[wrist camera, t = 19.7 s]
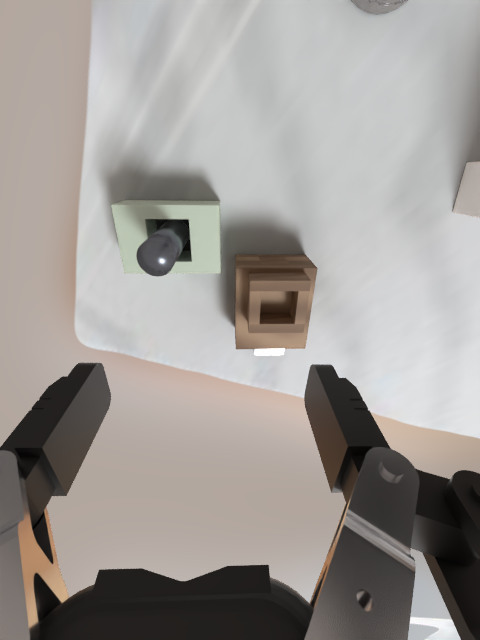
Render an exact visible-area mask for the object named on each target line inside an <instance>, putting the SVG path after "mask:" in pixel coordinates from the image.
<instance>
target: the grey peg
mask: <svg viewBox="0 0 480 640" xmlns="http://www.w3.org/2000/svg"><path fill="white" fill-rule="evenodd" d="M188 238H189V230H188V227H187V226H186V224H185V223H184V222H182V221H180V220H178V219H171V220H169V221H167V222H166V223H165V224H163V225H162V226H161V227H160V228H159V229H158V230H157V231H156V232H154V233H153V234H152V235H151V236H150V237H149V238H148V239H147V240H145V241H144V242H143V243H142V244H141V245H140V246H139V248H138V250H137V255H136V257H137V262H138V264H139V266H140V267H141V268H142V270H143V271H145V272H146V273H148V274H150V275H153V276H163V275H166V274H167V273H169V272H170V271H171V269H172V268H173V266H174V264H175V262H176V261H177V259H178V257H179V255H180V253H181V252H182V250H183V248H184V246H185V244H186V242H187V241H188Z"/></svg>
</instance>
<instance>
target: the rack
mask: <svg viewBox="0 0 480 640" xmlns="http://www.w3.org/2000/svg"><path fill="white" fill-rule="evenodd" d="M111 207H112V213H113V218H114V223H115V228H116V233H117V238H118V243H119V248H120V253H121V258H122V263H123V268H124V273H146V272H145V271H143V270H142V268H141V267H140V266H139V264H138V262H137V257H136V255H137V250H138V248H139V246H140V245H141V244H142V243H143V242H144V241H145V240H147V239H148V238H149V237H150V236H151V235H152V234H153V233H154V232H156V231H157V225H156V219H189V228H190V242H191V251H182V252H181V253H180V255H179V257H178V259H177V261H176V262H175V264H174V266H173V268H172V269H171V271H170V272H169V273H221V220H220V201H186V200H124V201H121V202H117V203H114V204H111Z"/></svg>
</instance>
